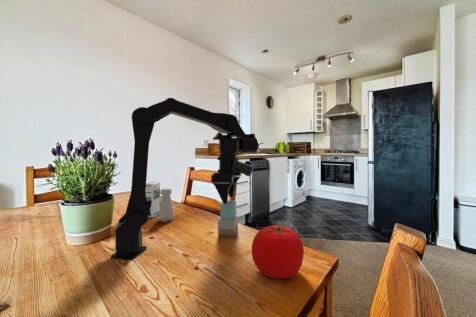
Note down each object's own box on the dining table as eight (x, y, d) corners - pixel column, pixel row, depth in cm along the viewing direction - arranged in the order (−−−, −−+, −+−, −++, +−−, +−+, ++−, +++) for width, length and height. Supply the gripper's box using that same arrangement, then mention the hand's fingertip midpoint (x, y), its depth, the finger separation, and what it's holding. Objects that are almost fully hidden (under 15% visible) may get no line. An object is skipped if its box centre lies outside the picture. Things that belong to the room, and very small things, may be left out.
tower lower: (234, 238, 66) (234, 229, 66) (218, 237, 67) (218, 228, 67) (237, 232, 71) (237, 223, 71) (222, 231, 72) (222, 222, 72)
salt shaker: (164, 223, 80) (163, 190, 79) (156, 220, 83) (155, 188, 83) (176, 219, 84) (176, 188, 84) (168, 217, 88) (168, 186, 87)
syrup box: (153, 217, 87) (152, 183, 87) (141, 216, 88) (140, 183, 88) (161, 213, 93) (160, 181, 92) (149, 213, 94) (148, 181, 93)
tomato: (278, 296, 39) (278, 242, 39) (241, 268, 49) (241, 225, 49) (315, 274, 46) (315, 228, 46) (276, 253, 56) (276, 215, 56)
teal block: (233, 219, 66) (233, 204, 66) (220, 218, 67) (220, 203, 67) (236, 215, 71) (236, 200, 71) (223, 214, 72) (223, 200, 72)
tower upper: (234, 229, 66) (234, 220, 66) (218, 228, 67) (217, 219, 67) (237, 223, 71) (237, 215, 71) (222, 222, 72) (222, 214, 72)
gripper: (248, 153, 58) (248, 208, 58) (254, 153, 76) (254, 195, 77) (210, 154, 60) (211, 207, 60) (225, 153, 78) (225, 194, 79)
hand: (228, 200), depth 69 cm, fingers open, 9 cm apart
